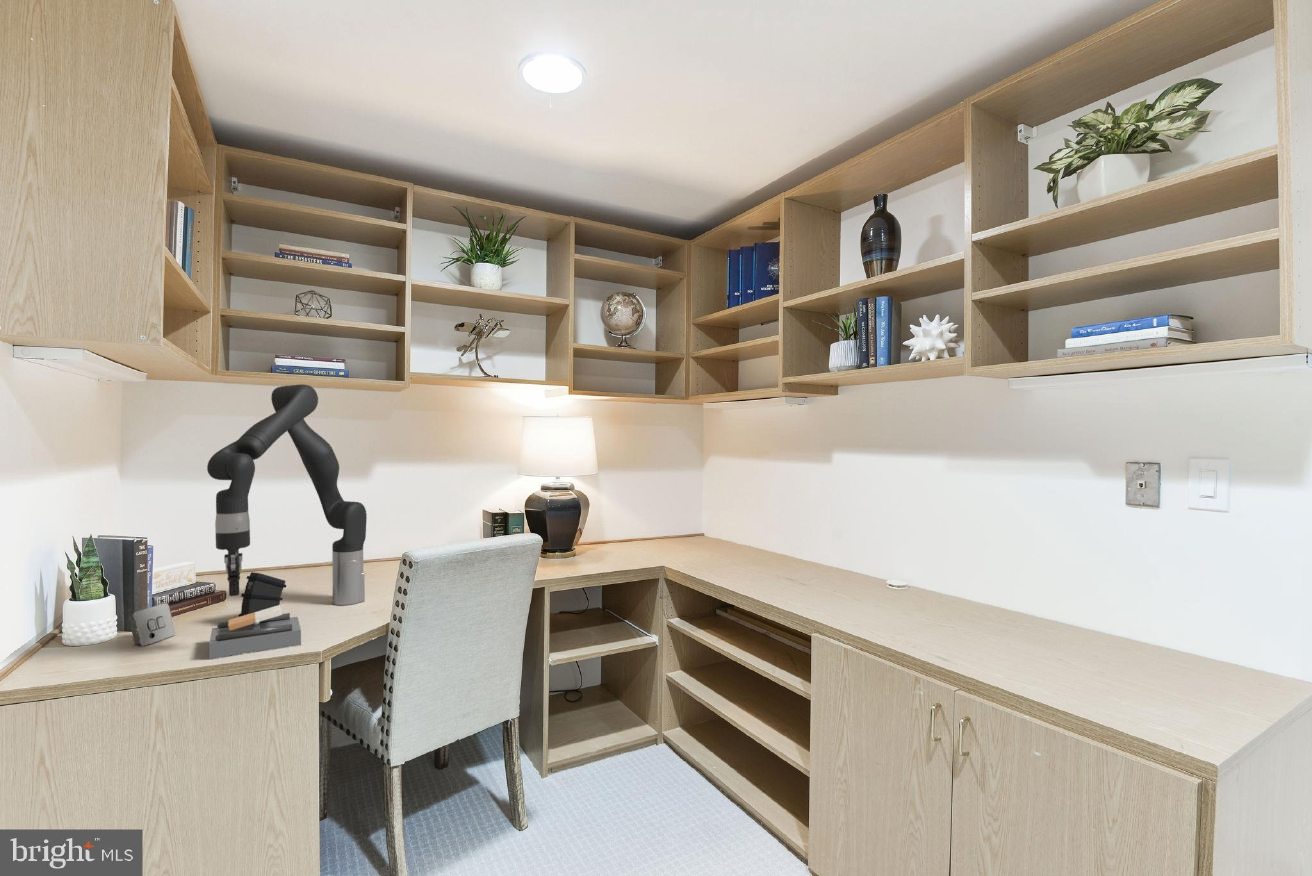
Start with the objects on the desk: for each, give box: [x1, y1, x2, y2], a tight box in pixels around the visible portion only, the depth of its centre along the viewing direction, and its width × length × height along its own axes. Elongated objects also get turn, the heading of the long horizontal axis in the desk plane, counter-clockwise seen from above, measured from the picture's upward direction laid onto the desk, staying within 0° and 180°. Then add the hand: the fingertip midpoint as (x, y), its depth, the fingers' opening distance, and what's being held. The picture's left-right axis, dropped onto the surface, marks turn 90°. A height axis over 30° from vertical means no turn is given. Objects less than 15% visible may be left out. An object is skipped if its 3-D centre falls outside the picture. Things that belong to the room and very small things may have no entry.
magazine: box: [238, 571, 287, 617], centre depth 190 cm, size 4×13×15 cm, turn 164°
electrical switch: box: [127, 603, 177, 647], centre depth 173 cm, size 9×5×9 cm, turn 169°
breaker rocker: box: [228, 604, 283, 631], centre depth 170 cm, size 12×6×2 cm, turn 122°
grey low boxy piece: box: [208, 612, 302, 660], centre depth 171 cm, size 20×14×6 cm
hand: (234, 595), depth 168 cm, fingers closed
